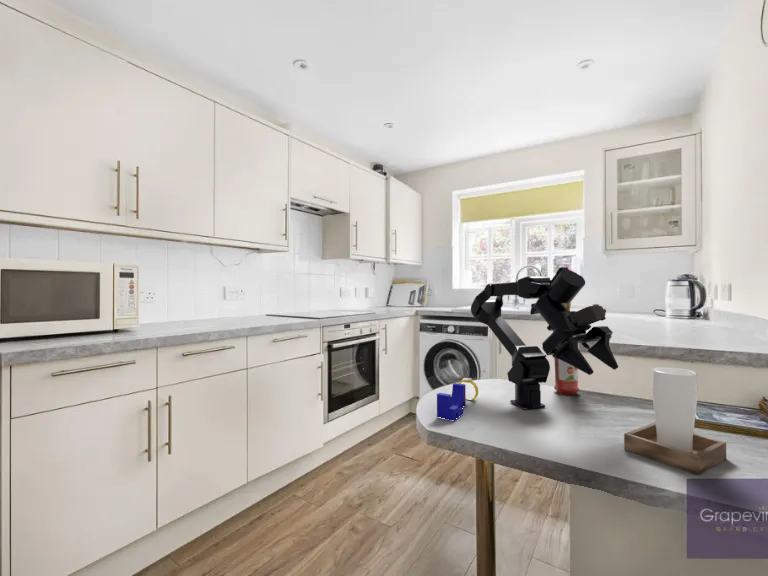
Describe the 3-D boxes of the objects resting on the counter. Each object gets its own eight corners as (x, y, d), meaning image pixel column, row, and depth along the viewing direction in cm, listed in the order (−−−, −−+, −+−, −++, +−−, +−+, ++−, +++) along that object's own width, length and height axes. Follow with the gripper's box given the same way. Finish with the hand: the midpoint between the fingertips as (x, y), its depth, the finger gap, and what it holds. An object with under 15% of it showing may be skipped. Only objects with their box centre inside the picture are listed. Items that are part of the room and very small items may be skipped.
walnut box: (624, 448, 71) (624, 433, 71) (654, 436, 77) (654, 422, 77) (697, 475, 61) (697, 457, 61) (726, 458, 67) (726, 442, 67)
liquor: (574, 389, 112) (574, 298, 112) (584, 397, 105) (584, 299, 105) (549, 389, 113) (548, 298, 113) (557, 396, 106) (557, 299, 106)
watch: (456, 400, 104) (454, 379, 104) (459, 397, 106) (458, 377, 106) (476, 402, 101) (475, 380, 101) (479, 399, 103) (478, 378, 103)
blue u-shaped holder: (454, 422, 87) (454, 397, 87) (437, 418, 89) (436, 394, 89) (471, 407, 97) (470, 385, 97) (454, 405, 99) (454, 383, 99)
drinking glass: (694, 461, 65) (693, 377, 65) (648, 449, 70) (647, 370, 70) (700, 450, 69) (700, 370, 69) (656, 439, 74) (656, 365, 74)
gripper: (553, 293, 79) (606, 352, 69) (603, 292, 88) (656, 344, 78) (523, 326, 85) (568, 384, 76) (573, 322, 95) (618, 373, 85)
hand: (604, 371), depth 78 cm, fingers open, 9 cm apart
